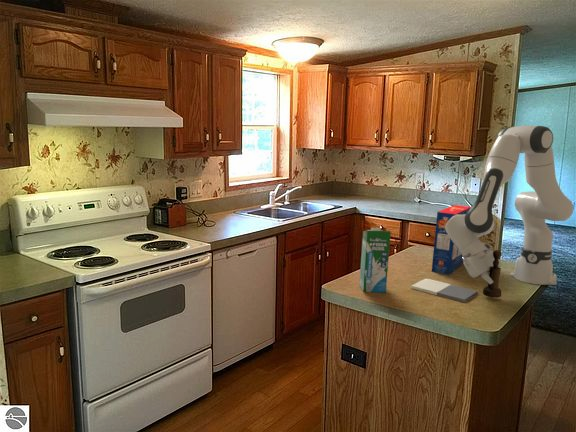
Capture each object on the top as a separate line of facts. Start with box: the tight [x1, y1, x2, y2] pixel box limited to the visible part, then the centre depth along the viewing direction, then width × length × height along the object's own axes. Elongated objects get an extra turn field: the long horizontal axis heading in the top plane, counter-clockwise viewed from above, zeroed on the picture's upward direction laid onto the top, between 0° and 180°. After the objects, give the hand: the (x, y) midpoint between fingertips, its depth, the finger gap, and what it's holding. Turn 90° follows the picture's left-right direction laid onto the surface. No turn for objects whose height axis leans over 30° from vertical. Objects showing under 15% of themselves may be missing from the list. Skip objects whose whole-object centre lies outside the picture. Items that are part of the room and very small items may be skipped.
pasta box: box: [431, 204, 472, 276], centre depth 226 cm, size 28×8×28 cm, turn 146°
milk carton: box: [359, 227, 392, 293], centre depth 190 cm, size 9×9×25 cm
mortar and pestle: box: [482, 249, 502, 299], centre depth 184 cm, size 7×6×18 cm
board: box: [410, 278, 479, 303], centre depth 193 cm, size 14×22×1 cm, turn 49°
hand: (495, 281), depth 184 cm, fingers closed on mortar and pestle, 4 cm apart
